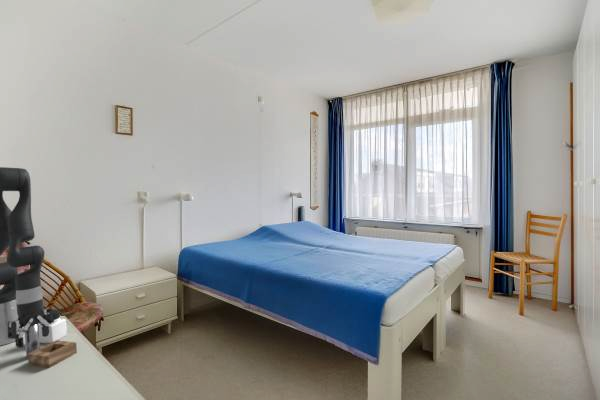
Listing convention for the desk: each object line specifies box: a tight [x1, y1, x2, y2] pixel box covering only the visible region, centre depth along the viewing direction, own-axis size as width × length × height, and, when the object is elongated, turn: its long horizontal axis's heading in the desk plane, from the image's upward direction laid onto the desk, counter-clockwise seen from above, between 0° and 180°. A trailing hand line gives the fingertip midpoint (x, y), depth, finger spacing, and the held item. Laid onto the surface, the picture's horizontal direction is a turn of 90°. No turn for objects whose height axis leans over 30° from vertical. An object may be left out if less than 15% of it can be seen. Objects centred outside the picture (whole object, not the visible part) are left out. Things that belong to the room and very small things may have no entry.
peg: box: [24, 324, 41, 360], centre depth 116 cm, size 4×4×12 cm
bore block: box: [27, 340, 78, 369], centre depth 113 cm, size 10×10×4 cm
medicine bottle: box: [38, 308, 68, 344], centre depth 129 cm, size 7×7×12 cm
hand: (33, 341), depth 116 cm, fingers open, 8 cm apart
